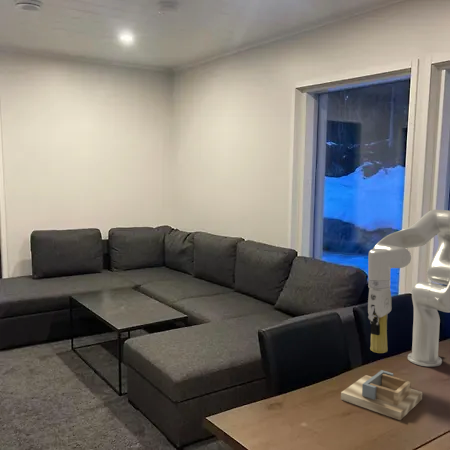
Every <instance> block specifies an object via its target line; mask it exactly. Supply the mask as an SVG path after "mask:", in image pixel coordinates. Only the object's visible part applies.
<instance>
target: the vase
mask: <svg viewBox="0 0 450 450" xmlns="http://www.w3.org/2000/svg"><path fill="white" fill-rule="evenodd" d="M374 315H376V314H374ZM376 316H377V315H376ZM387 316H388V314H386V315H385V316H383V317H380V318H379V324H380V335H374V334H371V333H370V347H369V349H370V351H372V352H373V353H377V354H384V353H388V349H389V348H388V331H387V330H388V318H387ZM374 318H375V319H376V320H377V317H374Z"/></svg>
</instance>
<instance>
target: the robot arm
mask: <svg viewBox="0 0 450 450" xmlns="http://www.w3.org/2000/svg"><path fill="white" fill-rule="evenodd" d="M436 236H437V239H438V240H437V241H438V246H437V249H436V252H435V253H434V255H433V257H432V259H431V262H430V263H429V265H428V267H427V270H426V276H427V277H426V278H427V279H429V280H430V281H432V282H430V281H419V282H417V283H416V284H414V285H413V287H412V289H411V300H412V305H413V324H412V346H411V351H412V352H410V353H408V354H407V360H408V361H409V362H411V364H415V365H418V366H420V367H421V366H422V367H430V368H433V367H439V366H441V365H442V363H443V360H442V358H441V357H440V356H439V341H440V340H439V339H440V323H441V319H440V314H439V312H438V311H440V312H443V313H450V210H448V209H447V210H445V209H431V210H429V211H427V212H426V213H424V214H423V216H422V217H420V218H419V219H418V220H417V221H415V222H414V223H413V224H412V225H410V226H409V227H406V228H403V229H401V230H398V231H395V232H391V233H390V234H389V233H388V235H385V236H384V237H383V238H382V239H381V240H379V241H378V242H377V243H376V244H375V245H374V247H373V248H372V249H370V250H369V251H368V258H367V259H368V262H367V263H368V264H367V265H368V269H367V270H368V271H367V273H368V275H367V277H368V280H367V283H368V285H367V286H368V298H367V299H368V300H367V313H368V316H367V319H368V320H369V323H370V335H371V334H374V335H380V324H379V318H380V317H383V316H385V315H386V314H387V319H388V318H389V317H388V314H390V312H391V311H392V291H391V269H401V268H405V267H407V266H408V265H409V264H410V263H411V260H412V254H411V252H410V250H409V249H412V248H418V247H424V246H425V245H427V244H428V243H429V242H430V241H431V240H433V238H435V237H436ZM374 314H376V315H377V316H376V315H374ZM374 317H377V320H376V319H375V318H374Z"/></svg>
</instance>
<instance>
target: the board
mask: <svg viewBox="0 0 450 450" xmlns="http://www.w3.org/2000/svg"><path fill="white" fill-rule="evenodd" d="M371 377H372V376H370V375H367V374H365V375H364V376H362V377H360V378H359V379H358V380H356V381H354V382H353V383H352V384H350V385H349V386H348V387H346V388H345V389H344V390H342V391H340V400H342V401H343V402H347V403H350V404H353V405H355V406H358V407H361V408H364V409H367V410H369V411H372V412H375V413H379V414H381V415H383V416H387V417H389V418H393V419H394V420H395V419H396V420H398V421H402V419H404V417H405V416H406V415H408V414H409V412H411V411H412V409H414V407H415V408H416V406H417V405H418V404H419V403H420V402H421V401H422V400H423V391H420V390H417V389H414V388H412V381H410V380H406V379H404V378H403V379H402V378H401V377H396V376H394V375H393V376H390V375H386V374H382V384H381V385H380V386H378V385H375V384H372V383H370V385H373V386H376V399H375V400H373V399H370V398H367V397H364V396H362V384H363V383H365V382H366V381H367V380H369V379H370V378H371Z"/></svg>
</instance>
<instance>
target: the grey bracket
mask: <svg viewBox="0 0 450 450" xmlns="http://www.w3.org/2000/svg"><path fill="white" fill-rule="evenodd" d="M382 374H386V375H390V376H393V377H394V373H393V372H390V371H386V370H383V369H380V370H379V371H378V372H377V373H376V374H374V375H373V376H371V378H370V379H369V380H367V381H366V382H365V383H363V384H362V396H364V397H367V398H370V399H373V400H375V399H376V386H373V385H370V383H372V384H375V385H378V386H380V385H381V384H382Z"/></svg>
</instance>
